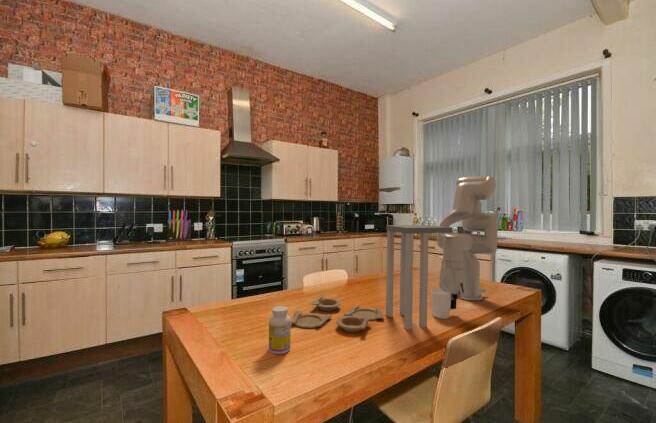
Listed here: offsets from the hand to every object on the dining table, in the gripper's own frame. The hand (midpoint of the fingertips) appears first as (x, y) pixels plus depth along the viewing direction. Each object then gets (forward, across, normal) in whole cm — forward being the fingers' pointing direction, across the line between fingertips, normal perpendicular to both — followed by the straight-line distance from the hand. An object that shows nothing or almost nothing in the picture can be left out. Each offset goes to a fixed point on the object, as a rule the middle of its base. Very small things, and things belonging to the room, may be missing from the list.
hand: (451, 308), depth 123 cm
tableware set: (+3, -12, -46) cm, 48 cm away
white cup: (+3, 0, -5) cm, 6 cm away
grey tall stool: (+3, 0, -17) cm, 17 cm away
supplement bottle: (+3, +7, -73) cm, 74 cm away
